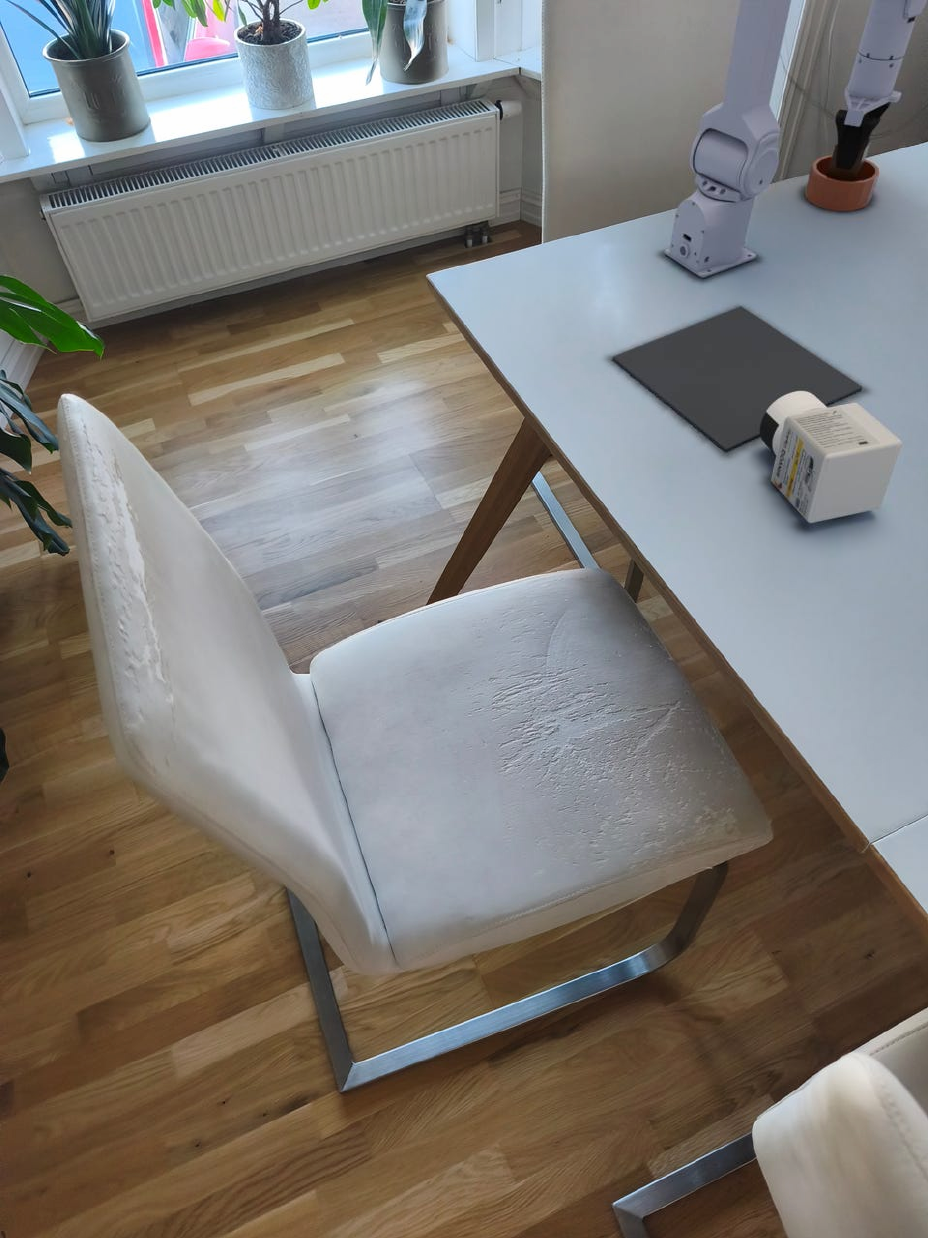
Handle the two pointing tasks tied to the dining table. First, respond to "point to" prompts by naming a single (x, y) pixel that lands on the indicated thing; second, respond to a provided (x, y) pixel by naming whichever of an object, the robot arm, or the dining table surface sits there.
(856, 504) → the container
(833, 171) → the block
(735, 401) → the mat
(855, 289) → the dining table surface
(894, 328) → the dining table surface
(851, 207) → the orange round bowl
